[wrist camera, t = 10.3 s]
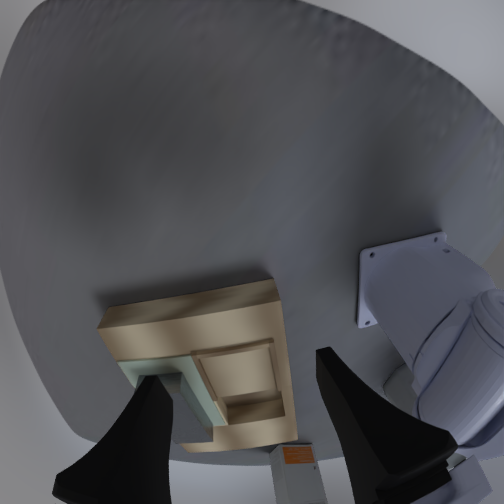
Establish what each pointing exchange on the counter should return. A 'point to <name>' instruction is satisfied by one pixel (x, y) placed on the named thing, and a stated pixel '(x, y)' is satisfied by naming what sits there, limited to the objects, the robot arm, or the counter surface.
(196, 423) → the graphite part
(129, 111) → the counter surface
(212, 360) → the bamboo board
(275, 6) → the counter surface
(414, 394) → the coffee maker
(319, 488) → the skincare box
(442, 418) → the robot arm
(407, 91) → the counter surface
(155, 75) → the counter surface
